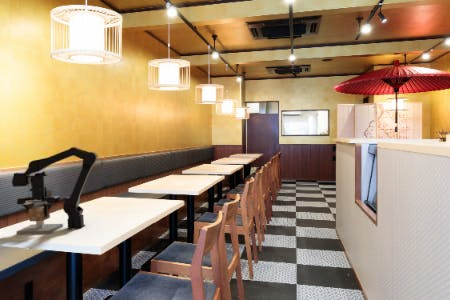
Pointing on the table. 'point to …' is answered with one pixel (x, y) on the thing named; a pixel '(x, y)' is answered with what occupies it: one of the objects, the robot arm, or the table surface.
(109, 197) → the table surface
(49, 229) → the gray rectangular slab
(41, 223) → the grey small block
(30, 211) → the shipping carton
